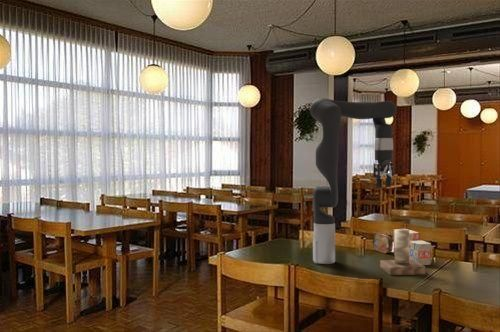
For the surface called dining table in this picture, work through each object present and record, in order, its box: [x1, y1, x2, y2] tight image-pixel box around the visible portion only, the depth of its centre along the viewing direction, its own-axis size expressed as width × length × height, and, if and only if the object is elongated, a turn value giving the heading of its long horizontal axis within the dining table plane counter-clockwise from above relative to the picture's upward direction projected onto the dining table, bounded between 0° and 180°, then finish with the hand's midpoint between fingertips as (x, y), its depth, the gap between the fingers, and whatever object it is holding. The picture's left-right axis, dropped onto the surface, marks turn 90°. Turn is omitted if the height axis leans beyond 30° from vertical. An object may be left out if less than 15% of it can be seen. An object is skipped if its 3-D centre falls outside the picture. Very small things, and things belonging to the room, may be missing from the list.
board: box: [379, 259, 426, 276], centre depth 191 cm, size 14×12×3 cm
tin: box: [372, 232, 394, 254], centre depth 227 cm, size 15×3×8 cm, turn 13°
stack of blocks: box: [393, 228, 432, 266], centre depth 210 cm, size 21×6×12 cm, turn 10°
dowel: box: [394, 228, 410, 265], centre depth 190 cm, size 6×6×16 cm
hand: (384, 187), depth 199 cm, fingers open, 8 cm apart
